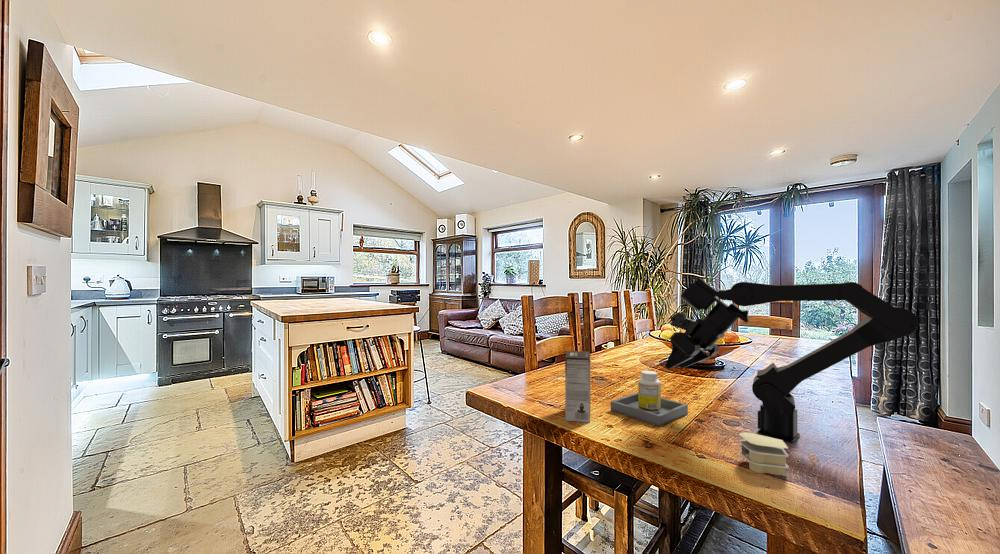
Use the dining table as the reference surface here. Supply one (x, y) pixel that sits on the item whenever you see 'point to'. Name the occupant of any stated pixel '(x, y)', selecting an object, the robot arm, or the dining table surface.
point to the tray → (666, 415)
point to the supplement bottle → (649, 392)
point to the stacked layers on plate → (764, 453)
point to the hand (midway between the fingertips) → (673, 367)
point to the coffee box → (577, 386)
